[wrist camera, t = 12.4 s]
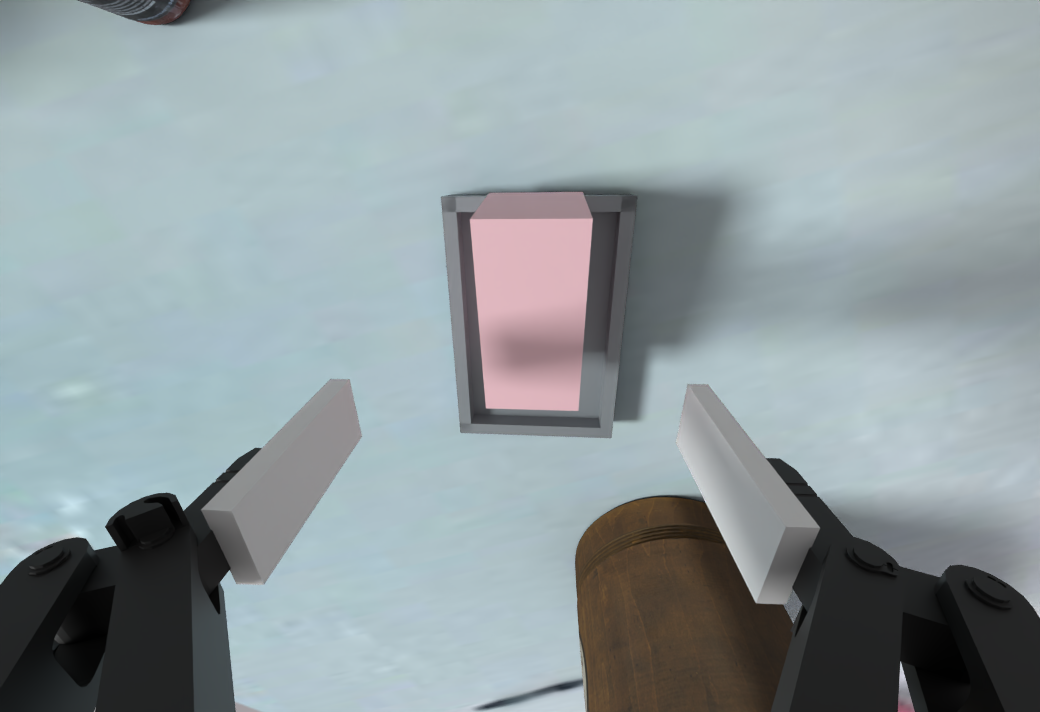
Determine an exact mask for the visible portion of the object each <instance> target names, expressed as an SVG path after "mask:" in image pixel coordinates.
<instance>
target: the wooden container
mask: <svg viewBox="0 0 1040 712" xmlns="http://www.w3.org/2000/svg"><path fill="white" fill-rule="evenodd" d="M575 570H576V589H577V598H578V600H577V610H578V625H579V639H580V652H581V665H582V676H583V686H584V697H585V709H586V712H771V709H772V705H773V702H774V698H775V695H776V691H777V688H778V684H779V681H780V677H781V674H782V670H783V667H784V663H785V660H786V656H787V652H788V649H789V645H790V642H791V638H792V635H793V632H791V631H790V630H791V628H792V626H793V623H792V621H791V619H790V617H789V615H788V613H787V611H786V609H785V608H784V606H783V604H760V603H756V602H755V600H754V598H753V596H752V594H751V592H750V590H749V588H748V586H747V584H746V582H745V580H744V578H743V576H742V574H741V572H740V570H739V568H738V566H737V564H736V562H735V560H734V558H733V556H732V554H731V552H730V550H729V548H728V546H727V544H726V542H725V540H724V538H723V536H722V534H721V532H720V530H719V528H718V526H717V524H716V522H715V520H714V518H713V516H712V514H711V512H710V510H709V508H708V506H707V504H706V503H703V502H700V501H696V500H692V499H685V498H676V497H654V498H646V499H640V500H636V501H632V502H629V503H626V504H624V505H621V506H619V507H616V508H614V509H613V510H611V511H609V512H607V513H606V514H604V515H603V516H601V517H600V518H599V519H597V520H596V521H595V522H594V523H593V524H592V525H591V526H590V527H589V528H588V529H587V530H586V531H585V533H584V534H583V536H582V538H581V539H580V541H579V544H578V546H577V550H576V556H575Z"/></svg>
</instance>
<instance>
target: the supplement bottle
mask: <svg viewBox="0 0 1040 712" xmlns="http://www.w3.org/2000/svg"><path fill="white" fill-rule="evenodd" d="M78 1H81V2H84V3H87V4H90V5H92V6H95V7H98V8H101V9H103V10H106V11H109V12H112V13H114V14H117V15H120V16H122V17H125V18H128V19H131V20H135V21H137V22H141V23H145V24H151V25H161V24H166V23H169V22H173V21H174V20H176V19H178V18H179V17H180V16H181V15H182V14H183V12H184V11H185V10H186V8H187V7H188V5H189V3H190V0H78Z"/></svg>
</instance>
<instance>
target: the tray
mask: <svg viewBox="0 0 1040 712" xmlns="http://www.w3.org/2000/svg"><path fill="white" fill-rule="evenodd" d="M486 196H487V195H447V196H442V197H441V204H442V216H443V228H444V240H445V252H446V264H447V276H448V288H449V300H450V312H451V324H452V336H453V348H454V360H455V372H456V384H457V396H458V408H459V420H460V432H461V433H480V434H508V435H537V436H565V437H594V438H611V437H612V428H613V418H614V409H615V400H616V391H617V381H618V372H619V363H620V353H621V344H622V335H623V325H624V316H625V307H626V298H627V288H628V279H629V270H630V260H631V251H632V242H633V232H634V223H635V214H636V204H637V196H636V195H631V194H588V195H584V197H585V199H586V202H587V204H588V207H589V210H590V212H591V215H592V218H593V222H592V236H591V249H590V263H589V276H588V289H587V303H586V316H585V329H584V343H583V356H582V369H581V383H580V396H579V409H578V411H562V410H526V409H489V408H486V403H485V391H484V380H483V368H482V356H481V344H480V333H479V321H478V309H477V297H476V286H475V274H474V262H473V250H472V238H471V227H470V218H471V217H472V216H473V214H474V213H475V211H476V210H477V209H478V207H479V206H480V205H481V203H482V202H483V201H484V199H485V198H486Z"/></svg>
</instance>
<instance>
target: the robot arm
mask: <svg viewBox="0 0 1040 712" xmlns="http://www.w3.org/2000/svg"><path fill="white" fill-rule="evenodd" d="M361 437H362V434H361V430H360V425H359V421H358V416H357V411H356V407H355V402H354V398H353V393H352V389H351V384H350V379H330V380H329V381H328V382H327V383H326V384H325V385H324V386H323V387H322V388H321V389H320V390H319V391H318V392H317V393H316V394H315V395H314V396H313V397H312V398H311V399H310V400H309V401H308V402H307V403H306V404H305V405H304V406H303V407H302V408H301V409H300V410H299V411H298V412H297V413H296V414H295V415H294V416H293V417H292V418H291V419H290V420H289V422H288V423H287V424H286V425H285V426H284V427H283V428H282V429H281V430H280V431H279V432H278V433H277V434H276V435H275V436H274V437H273V438H272V439H271V440H270V441H269V442H268V443H267V444H266V445H265V446H264V447H263V448H254V449H253V450H251V451H249V452H248V453H246V454H245V455H243V456H241V457H240V458H238V459H237V460H236V461H235V462H234V463H233V464H232V465H231V466H230V467H229V468H228V469H227V470H226V472H225V473H223V474H222V475H220V476H219V477H218V478H217V479H216V482H215V483H214V482H213V483H212V484H211V485H210V486H209V487H208V488H207V489H206V490H205V491H204V492H203V493H202V494H201V495H200V496H199V497H198V498H197V499H196V500H195V501H193V502H192V503H191V504H190V505H189V506H188V507H187V508H186V509H185V510H184V511H183V509H182V507H181V505H180V503H179V501H178V499H177V497H176V495H173V494H170V493H157V494H153V495H150V496H146V497H143V498H141V499H139V500H136V501H134V502H132V503H130V504H128V505H127V506H125V507H124V508H122V509H120V510H119V511H118V512H117V513H116V514H114V515H113V516H112V517H111V518H110V519H109V521H108V523H107V525H106V526H105V528H106V529H107V531H108V532H109V534H110V535H111V537H112V539H113V540H114V542H115V543H116V545H117V546H113V547H108V548H104V549H99V550H93V549H92V547H91V546H90V544H89V543H88V541H87V540H86V539H84V538H78V537H76V538H70V539H65V540H62V541H59V542H56V543H53V544H50V545H48V546H46V547H44V548H41V549H40V550H38V551H36V552H34V553H33V554H32V555H30V556H29V557H27V558H26V559H24V560H23V561H21V562H20V563H19V564H18V565H17V566H16V567H15V568H14V569H13V570H12V571H11V572H10V573H9V575H8V576H7V577H6V578H5V580H4V581H3V582H2V584H1V585H0V712H94V710H95V707H96V711H95V712H236V711H235V701H234V691H233V681H232V671H231V660H230V650H229V640H228V630H227V620H226V610H225V600H224V591H223V588H222V586H221V584H220V581H221V580H222V579H223V577H224V576H225V575H226V574H227V572H228V571H229V570H230V571H231V573H232V575H233V578H234V580H235V582H236V584H250V585H264V584H265V582H266V581H267V579H268V578H269V576H270V575H271V573H272V572H273V570H274V569H275V567H276V566H277V564H278V563H279V561H280V560H281V558H282V557H283V555H284V554H285V552H286V551H287V549H288V548H289V546H290V545H291V543H292V542H293V540H294V538H295V537H296V535H297V534H298V532H299V531H300V529H301V528H302V526H303V525H304V523H305V522H306V520H307V519H308V517H309V516H310V514H311V513H312V511H313V510H314V508H315V507H316V505H317V504H318V502H319V501H320V499H321V498H322V496H323V495H324V493H325V492H326V490H327V489H328V487H329V486H330V484H331V483H332V481H333V479H334V478H335V476H336V475H337V473H338V472H339V470H340V469H341V467H342V466H343V464H344V463H345V461H346V460H347V458H348V457H349V455H350V454H351V452H352V451H353V449H354V448H355V446H356V445H357V443H358V442H359V440H360V439H361ZM676 444H677V446H678V448H679V450H680V452H681V454H682V456H683V458H684V460H685V462H686V464H687V466H688V468H689V470H690V472H691V474H692V476H693V478H694V480H695V482H696V484H697V486H698V488H699V490H700V492H701V494H702V496H703V498H704V500H705V502H706V504H707V506H708V508H709V510H710V512H711V514H712V516H713V518H714V520H715V522H716V524H717V526H718V528H719V530H720V532H721V534H722V536H723V538H724V540H725V542H726V544H727V546H728V548H729V550H730V552H731V554H732V556H733V558H734V560H735V562H736V564H737V566H738V568H739V570H740V572H741V574H742V576H743V578H744V580H745V582H746V584H747V586H748V588H749V590H750V592H751V594H752V596H753V598H754V600H755V602H756V603H760V604H787V602H788V600H789V597H790V595H791V593H792V591H793V589H794V591H795V593H796V594H797V596H798V598H799V599H800V601H801V602H802V604H803V605H802V607H801V609H800V611H799V613H798V615H797V617H796V620H795V622H794V624H793V626H792V628H791V630H790V631H791V632H793V635H792V638H791V642H790V645H789V649H788V652H787V656H786V660H785V663H784V667H783V670H782V674H781V677H780V681H779V684H778V688H777V691H776V695H775V698H774V702H773V705H772V709H771V712H898V693H899V674H900V661H901V663H902V667H903V670H904V674H905V677H906V681H907V685H908V688H909V692H910V695H911V699H912V703H913V706H914V710H915V712H1040V618H1039V616H1038V615H1037V613H1036V611H1035V610H1034V608H1033V607H1032V606H1031V605H1030V603H1029V602H1028V601H1027V600H1026V599H1025V597H1024V596H1023V595H1021V594H1020V593H1019V592H1017V591H1016V590H1015V589H1014V588H1012V587H1011V586H1010V585H1009V584H1007V583H1005V582H1003V581H1002V580H1000V579H998V578H996V577H995V576H993V575H991V574H989V573H986V572H984V571H981V570H979V569H976V568H973V567H968V566H964V565H953V566H949V567H948V568H947V569H946V570H945V571H944V573H943V574H942V576H941V577H936V576H933V575H929V574H925V573H922V572H918V571H914V570H911V569H907V568H903V567H900V566H899V565H898V563H897V562H896V561H895V560H894V559H893V558H892V557H891V556H890V555H889V554H887V553H886V552H885V551H884V550H882V549H881V548H879V547H877V546H875V545H873V544H872V543H870V542H867V541H865V540H862V539H859V538H856V537H853V536H852V535H851V534H850V533H849V531H848V530H847V529H846V528H845V527H844V526H843V524H842V523H841V522H840V521H839V520H838V519H837V517H836V516H835V515H834V514H833V513H832V512H831V510H830V509H829V508H828V507H827V506H826V504H825V503H824V502H823V501H822V500H821V499H820V497H817V494H816V493H815V492H814V490H813V489H812V488H811V487H810V486H808V485H807V484H808V483H807V482H806V481H805V480H804V479H803V478H802V476H801V475H800V474H799V473H798V472H797V470H795V469H794V468H792V467H791V466H790V465H788V464H787V463H785V462H784V461H782V460H781V459H776V458H765V457H764V455H763V454H762V453H761V452H760V450H759V449H758V448H757V446H756V445H755V444H754V443H753V441H752V440H751V439H750V437H749V436H748V435H747V434H746V432H745V431H744V430H743V429H742V427H741V426H740V425H739V423H738V422H737V421H736V420H735V418H734V417H733V416H732V414H731V413H730V412H729V411H728V409H727V408H726V407H725V406H724V404H723V403H722V402H721V400H720V399H719V398H718V397H717V395H716V394H715V393H714V391H713V390H712V389H711V388H710V386H709V385H706V384H687V389H686V394H685V400H684V405H683V410H682V415H681V420H680V425H679V430H678V435H677V440H676Z"/></svg>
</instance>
